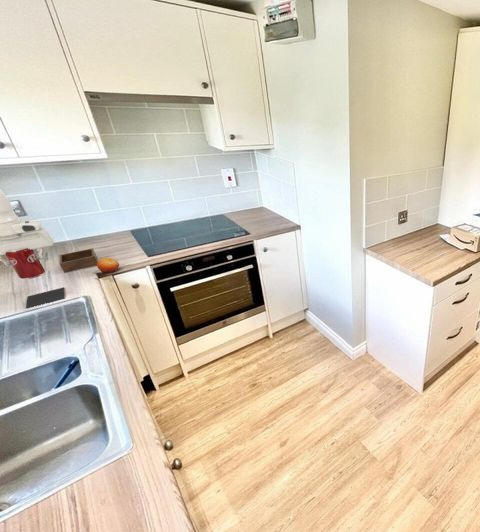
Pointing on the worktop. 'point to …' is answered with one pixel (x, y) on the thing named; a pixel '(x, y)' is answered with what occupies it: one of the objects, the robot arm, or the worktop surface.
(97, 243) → the worktop surface
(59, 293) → the mat
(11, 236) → the robot arm
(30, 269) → the soda can
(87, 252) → the basket
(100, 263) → the fruit
